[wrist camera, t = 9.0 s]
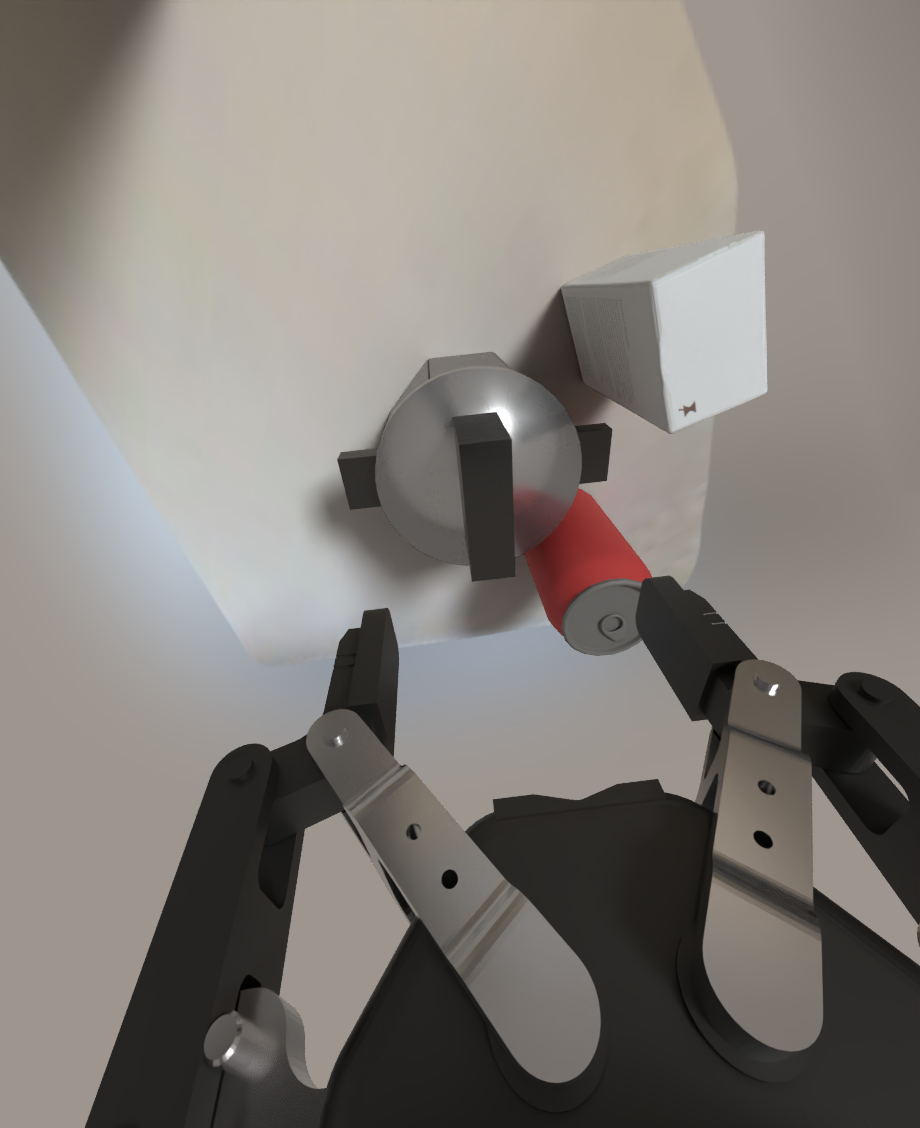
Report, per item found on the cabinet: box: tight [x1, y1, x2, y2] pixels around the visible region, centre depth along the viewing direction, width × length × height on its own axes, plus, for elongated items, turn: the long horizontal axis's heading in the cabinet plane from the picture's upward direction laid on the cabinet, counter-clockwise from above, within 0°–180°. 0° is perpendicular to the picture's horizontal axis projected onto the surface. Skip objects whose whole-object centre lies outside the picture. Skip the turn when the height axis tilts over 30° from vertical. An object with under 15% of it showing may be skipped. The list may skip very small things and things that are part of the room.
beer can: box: [524, 489, 652, 656], centre depth 29 cm, size 7×7×12 cm
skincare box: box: [561, 231, 767, 434], centre depth 21 cm, size 6×4×12 cm
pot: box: [337, 352, 612, 510], centre depth 27 cm, size 10×15×7 cm, turn 95°
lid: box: [375, 365, 582, 581], centre depth 22 cm, size 11×11×5 cm
